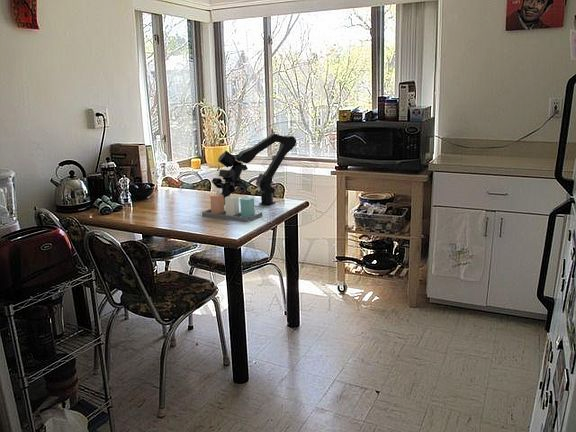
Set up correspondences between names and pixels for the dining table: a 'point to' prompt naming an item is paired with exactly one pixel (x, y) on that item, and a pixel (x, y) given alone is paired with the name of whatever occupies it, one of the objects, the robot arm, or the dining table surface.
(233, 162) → the robot arm
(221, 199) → the pink upright block
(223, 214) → the grey tray
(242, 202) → the teal block
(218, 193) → the ceramic mug
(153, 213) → the dining table surface
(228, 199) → the white rectangular block
